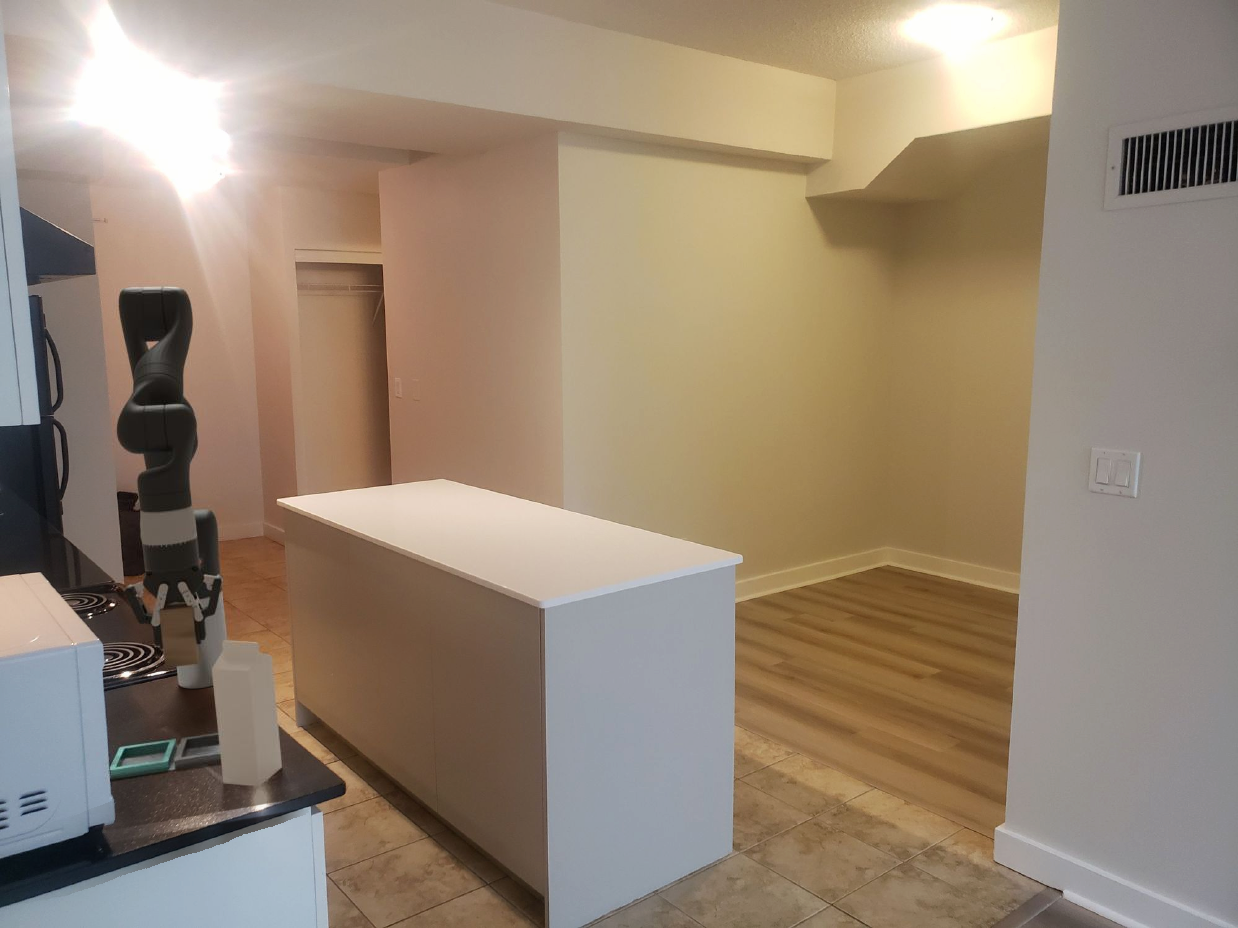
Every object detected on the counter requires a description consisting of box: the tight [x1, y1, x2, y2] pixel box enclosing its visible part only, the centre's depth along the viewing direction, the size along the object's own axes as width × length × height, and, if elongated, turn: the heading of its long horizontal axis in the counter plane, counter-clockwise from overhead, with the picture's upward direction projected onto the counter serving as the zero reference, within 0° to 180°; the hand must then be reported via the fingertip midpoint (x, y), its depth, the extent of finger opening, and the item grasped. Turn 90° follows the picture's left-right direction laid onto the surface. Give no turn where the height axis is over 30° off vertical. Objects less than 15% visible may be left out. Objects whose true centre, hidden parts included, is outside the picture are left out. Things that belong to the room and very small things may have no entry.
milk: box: [212, 640, 283, 787], centre depth 137 cm, size 6×6×22 cm
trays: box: [109, 732, 221, 780], centre depth 145 cm, size 9×18×2 cm, turn 107°
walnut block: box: [159, 602, 201, 669], centre depth 143 cm, size 4×4×9 cm
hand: (181, 644), depth 143 cm, fingers closed on walnut block, 4 cm apart
